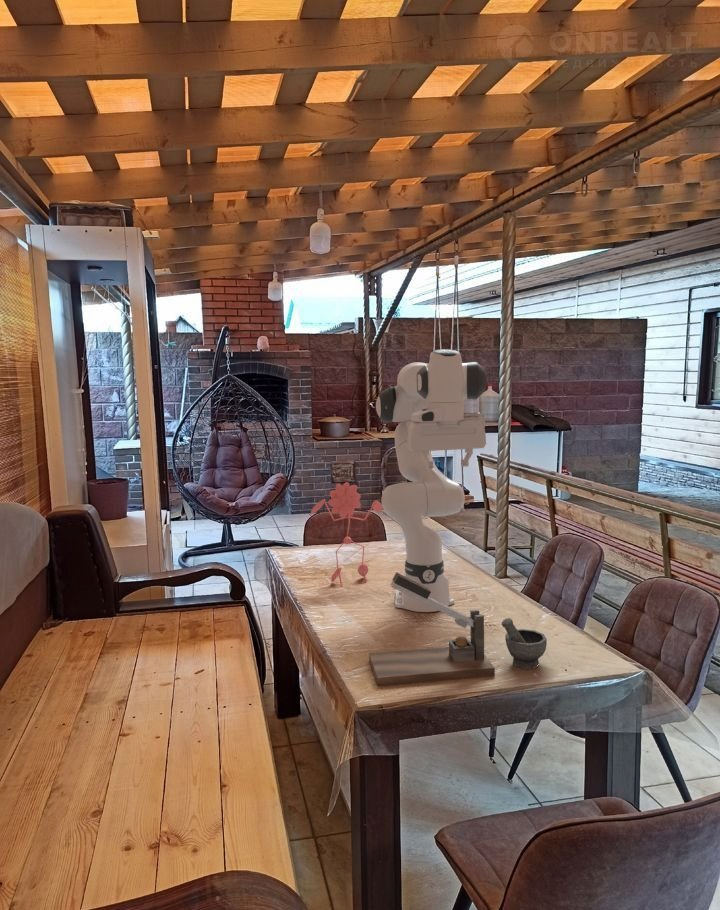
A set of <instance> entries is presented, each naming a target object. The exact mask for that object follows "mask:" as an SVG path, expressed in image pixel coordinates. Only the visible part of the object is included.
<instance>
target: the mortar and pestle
mask: <svg viewBox="0 0 720 910" xmlns="http://www.w3.org/2000/svg"><path fill="white" fill-rule="evenodd" d="M501 626H502V628H504V629H505V631H506V633H505V644H506V648H507V650H508V652H509V654H510V656H511V657H512V663H513V665H514V666H515V665H516V666H515V667H517V666H518V667H517V668H519V667H520V668H519V669H524V668H527V669H526V670H529V669H528V668H532V669H535V668H534V667H536V666H537V665H538V664H539V665H540V663H539V659H540V658H541V657H542V656H544V654H545V652H546V650H547V646H548V645H547V644H548V643H547V637H546V635H545V634H544V633H542V632H540V631H536V630H533V629H525V628H521V629H519V628H518V629H517V627H516V626H515V625H514V621H513V619H512V617H508V618H505V619H503V620H502V621H501ZM537 667H538V666H537ZM537 667H536V668H537Z"/></svg>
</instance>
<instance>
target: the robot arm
mask: <svg viewBox="0 0 720 910" xmlns="http://www.w3.org/2000/svg"><path fill="white" fill-rule="evenodd" d="M428 361H429V362H428V363H426V362H418V361H417V362H410V363H408V364H406V365H404V366H403V367H402V368H401V369H400V371H399V373H398V374H397V381H396V383H397V384H396V386H392V385H391V384H389V385H388V386H387V388H385V389H383V390H382V391H381V392H380V393H379V394H378V396H377V398H376V402H375V411H376V414H377V415H378V419H380V420H381V421H382V422H386V423H392V422H393V423H398V425H396V428H395V430H394V447H395V454H396V455H395V456H396V458H397V459H396V460H397V464H398V466H397V467H398V470H399V472H400V474H401V475H402V477H404V479H406V480H408V481H406V482H404V481H403V482H399V483H394V484H391V485H387V486H386V487H385V488H384V490H383V492H382V494H381V499H380V501H381V502H380V503H381V504H382V507H383V509H382V511H383V512H384V513H385V514H386V516H388V517H389V518H391V519H392V520H394V521H395V522H396V524H397V525H398V526H399V528H400V529H401V531H402V533H403V536H404V544H405V551H406V552H405V553H406V559H405V562H404V573H403V574H402V575H403V576H405V577H407V578H409V579H411V580H413V581H415V582H417V583H419V584H421V585H423V586H425V587H427V588H429V590H430V591H431V593H430V595H429V597H430V598H432V599H434V600H436V601H438V602H440V603H442V604H444V605H446V606H448V607H450V606H451V605H454V604H455V599H454V598H452V597H451V596H450V581H449V577H448V576H447V575H445V573H444V572H445V571H444V569H445V564H444V563H445V562H444V559H443V541H442V539H443V538H442V536H441V534H440V533H439V532H438V531H437V530H435V529H434V528H431V527H428V526H427V525H424V523H423V519H424V518H435V517H447V516H450V515H454V514H458V513H460V511H462V509H463V507H464V505H465V501H466V499H465V498H466V497H465V495H466V494H465V491H464V490H463V487H462V486H461V484H459V482H456V481H454V480H452V479H450V478H449V477H447V476H446V475H445V474H444V473H442V472H441V471H440V469H438V467H437V465H436V464H435V461H434V459H433V455H432V451H451V450H452V451H455V450H457V451H458V450H464V453H465V456H464V458H462V459H460V465H461V467H462V468H463V467H464V468H465V467H466V468H467V467H469V463H470V462H469V460H471V459H470V458H472V456H473V453H474V452H473V451H474V449H475V450H476V449H485V447H486V445H487V436H486V430H485V427H486V418H485V416H484V415H483V414H481V413H480V412H465V402H464V401H465V400H478V399H479V398H480V397H481V396H482V395H483V393H484V392H485V391H486V389H487V385H488V377H487V372H486V370H485V369H484V368H483V367H482V365H480V364H479V362H477V361H471V362H469V361H467V362H463V360H462V355H461V352H459V351H457V350H454V349H446V348H445V349H436V350H433V351H432V352H431V353H430V354H429V360H428ZM394 599H395V600H394V601H395V602H394V607H395V608H398V609H405V610H408V611H411V612H417V613H419V612H420V613H432V612H433V613H435V612H439V610H437V609H435V608H433V607H431V606H429V605H427V604H425V603H423V602H421V601H419V600H417V599H415V598H413V597H411V596H409V595H407V594H405V593H403V592H401V591H399V590H397V589H395V598H394Z"/></svg>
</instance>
